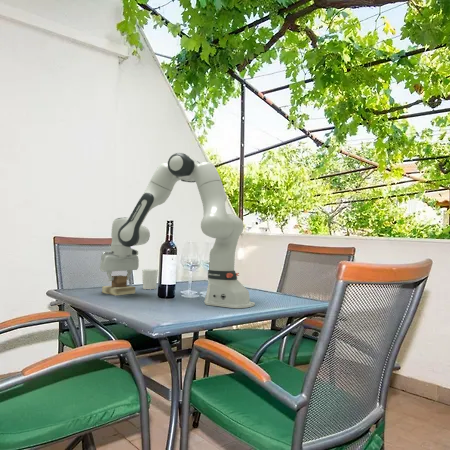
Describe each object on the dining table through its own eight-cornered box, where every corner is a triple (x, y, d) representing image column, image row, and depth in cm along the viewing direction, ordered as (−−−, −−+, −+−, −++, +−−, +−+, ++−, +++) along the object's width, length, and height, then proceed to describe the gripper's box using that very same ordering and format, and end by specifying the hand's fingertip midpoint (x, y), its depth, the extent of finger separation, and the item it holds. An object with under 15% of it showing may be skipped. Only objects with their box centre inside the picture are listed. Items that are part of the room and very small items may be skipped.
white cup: (139, 289, 217) (139, 269, 217) (146, 287, 224) (146, 268, 225) (152, 290, 215) (153, 270, 215) (159, 288, 222) (160, 269, 222)
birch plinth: (135, 293, 203) (135, 286, 203) (116, 295, 194) (116, 288, 194) (120, 290, 210) (121, 284, 210) (102, 292, 201) (102, 286, 201)
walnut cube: (126, 286, 202) (126, 276, 202) (118, 287, 198) (118, 277, 198) (120, 285, 205) (120, 275, 205) (111, 286, 201) (111, 276, 202)
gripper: (105, 252, 192) (104, 282, 192) (141, 251, 208) (140, 279, 208) (97, 251, 196) (96, 281, 196) (132, 250, 212) (131, 278, 212)
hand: (119, 280), depth 202 cm, fingers open, 8 cm apart
